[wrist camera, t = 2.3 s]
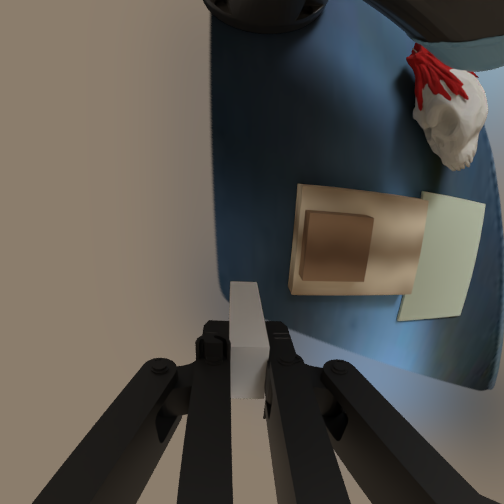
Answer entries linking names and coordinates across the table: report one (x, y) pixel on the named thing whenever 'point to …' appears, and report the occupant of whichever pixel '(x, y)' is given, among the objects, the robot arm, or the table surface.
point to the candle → (447, 108)
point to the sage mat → (444, 258)
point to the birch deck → (382, 242)
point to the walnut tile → (335, 246)
